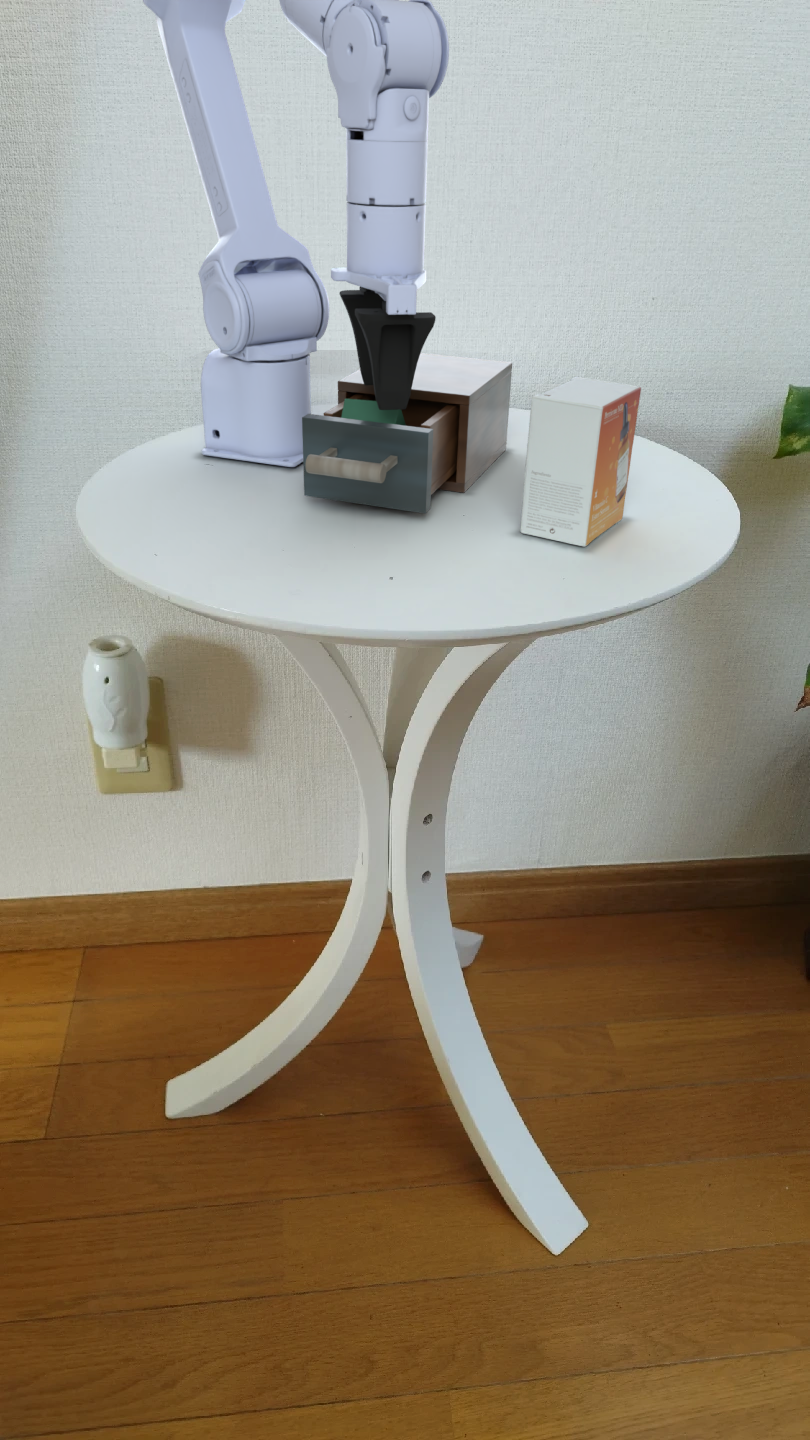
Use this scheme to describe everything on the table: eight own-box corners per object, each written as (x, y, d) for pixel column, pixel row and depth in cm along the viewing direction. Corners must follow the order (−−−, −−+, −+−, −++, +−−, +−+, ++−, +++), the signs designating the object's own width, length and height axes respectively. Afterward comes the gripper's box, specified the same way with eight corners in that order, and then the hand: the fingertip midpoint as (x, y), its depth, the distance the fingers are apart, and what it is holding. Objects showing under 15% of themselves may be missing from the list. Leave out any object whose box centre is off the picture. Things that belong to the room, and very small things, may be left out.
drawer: (407, 532, 76) (409, 448, 72) (280, 512, 78) (277, 431, 75) (471, 468, 89) (476, 394, 86) (362, 453, 92) (362, 382, 89)
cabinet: (464, 493, 86) (469, 395, 82) (338, 475, 89) (337, 380, 85) (506, 449, 97) (512, 362, 93) (392, 435, 100) (394, 350, 96)
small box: (585, 550, 76) (602, 407, 70) (517, 534, 78) (529, 394, 73) (624, 519, 82) (644, 385, 76) (561, 505, 84) (575, 374, 79)
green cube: (335, 444, 80) (344, 398, 81) (347, 469, 84) (355, 425, 85) (391, 449, 79) (399, 402, 80) (399, 474, 84) (407, 430, 84)
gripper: (319, 194, 78) (323, 375, 85) (343, 212, 66) (345, 422, 73) (409, 195, 79) (405, 373, 87) (449, 213, 67) (441, 419, 74)
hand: (383, 396), depth 80 cm, fingers open, 7 cm apart
